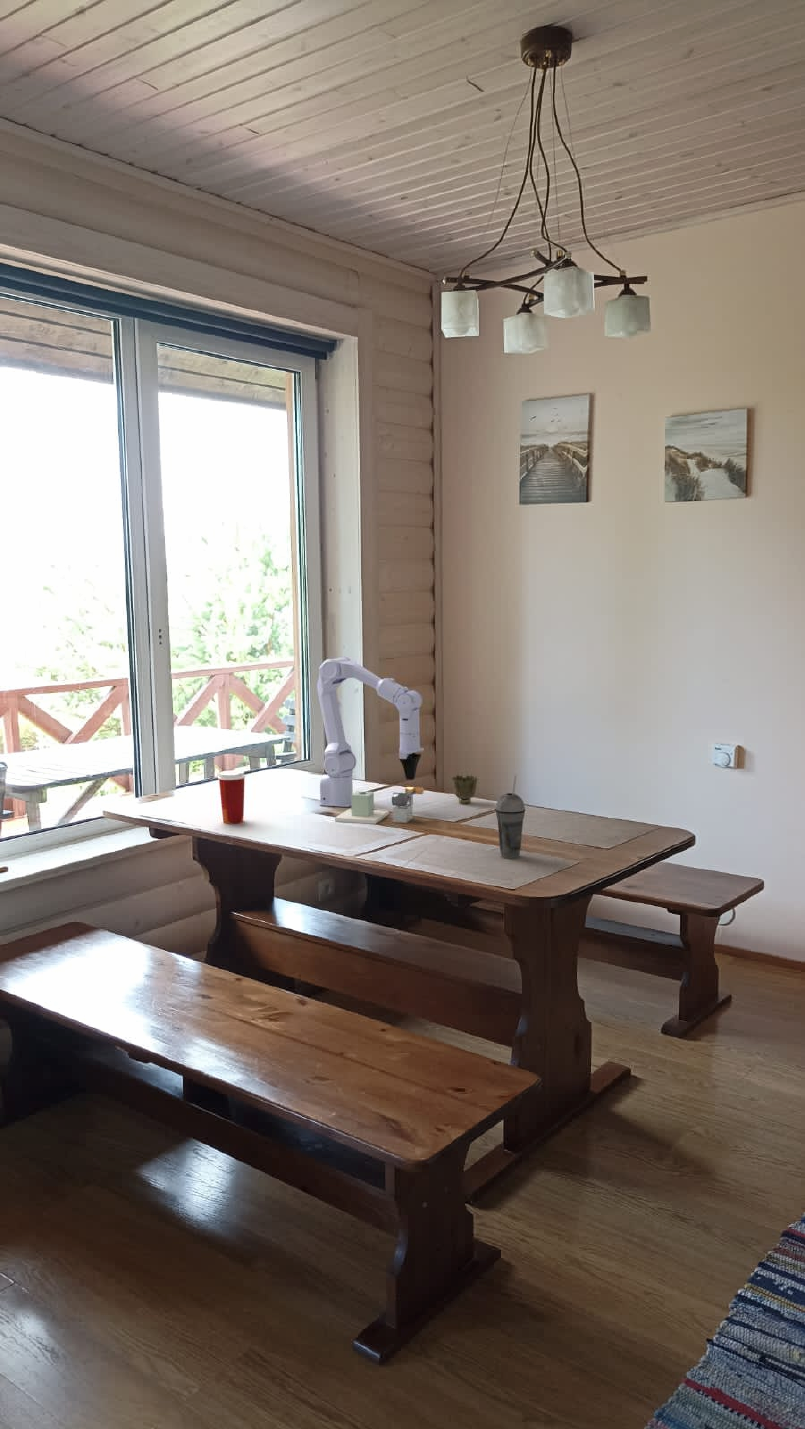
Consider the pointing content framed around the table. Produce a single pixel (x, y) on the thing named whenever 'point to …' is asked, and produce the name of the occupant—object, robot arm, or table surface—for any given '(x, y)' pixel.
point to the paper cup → (232, 796)
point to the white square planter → (403, 812)
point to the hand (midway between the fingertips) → (410, 779)
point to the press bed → (371, 819)
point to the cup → (464, 788)
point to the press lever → (405, 796)
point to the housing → (362, 803)
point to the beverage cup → (510, 823)
